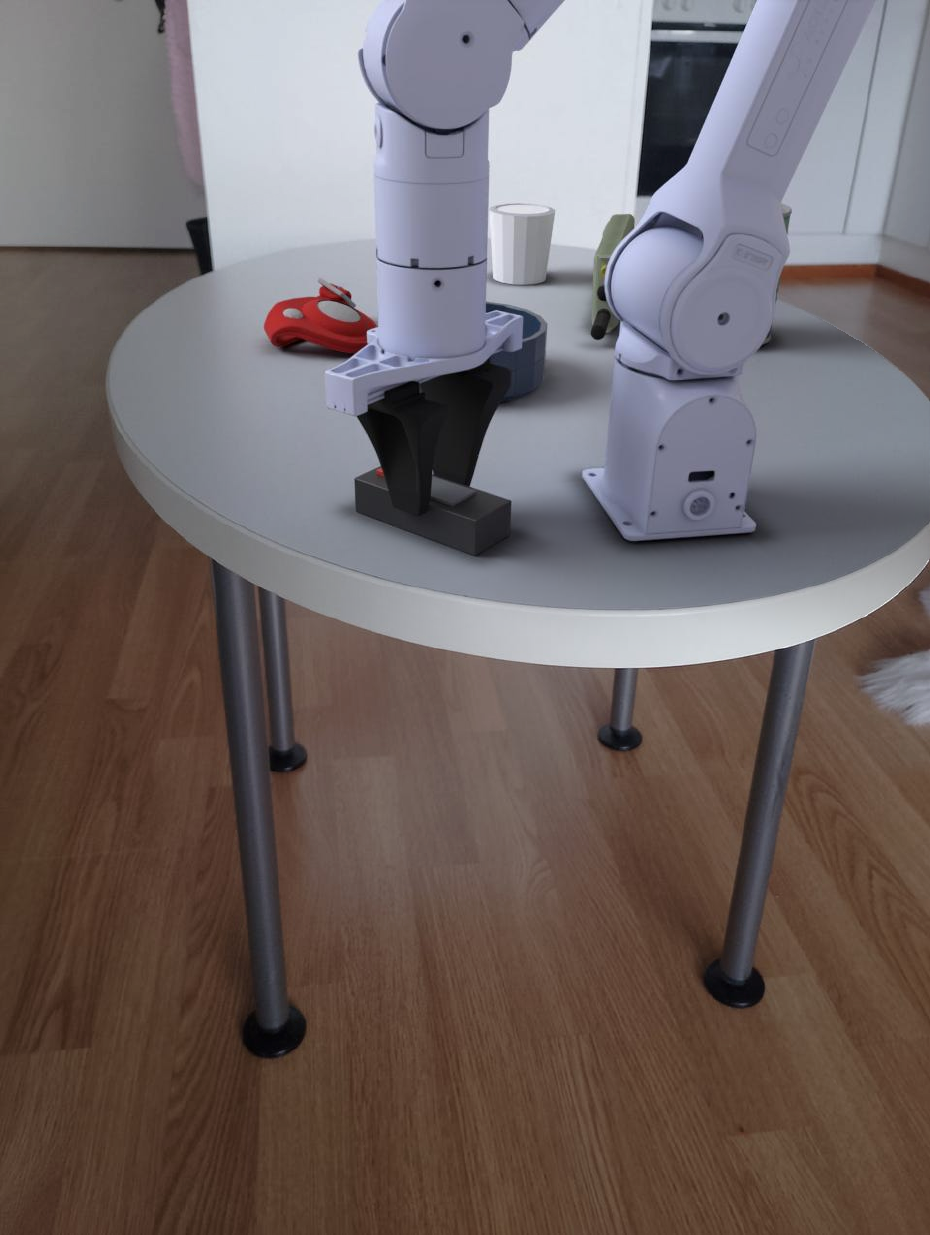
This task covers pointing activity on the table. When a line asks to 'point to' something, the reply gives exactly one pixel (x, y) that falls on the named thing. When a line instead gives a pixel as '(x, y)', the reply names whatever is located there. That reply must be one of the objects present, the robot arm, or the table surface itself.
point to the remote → (440, 512)
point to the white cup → (521, 242)
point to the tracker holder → (320, 320)
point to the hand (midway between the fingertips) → (431, 498)
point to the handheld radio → (611, 238)
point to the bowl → (523, 352)
